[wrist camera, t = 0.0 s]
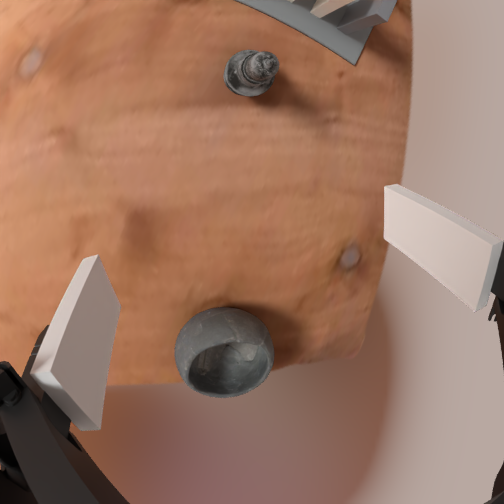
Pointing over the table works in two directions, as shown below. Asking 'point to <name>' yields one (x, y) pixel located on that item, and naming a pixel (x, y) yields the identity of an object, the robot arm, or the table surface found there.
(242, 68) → the grey chess piece
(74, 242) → the table surface
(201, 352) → the bowl
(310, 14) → the mat
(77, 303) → the robot arm
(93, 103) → the table surface
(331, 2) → the tile
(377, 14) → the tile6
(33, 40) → the table surface
